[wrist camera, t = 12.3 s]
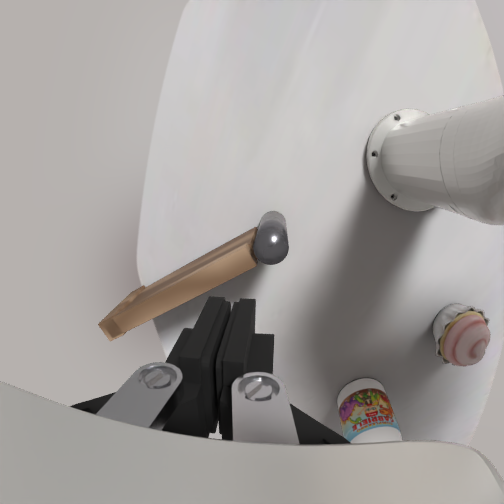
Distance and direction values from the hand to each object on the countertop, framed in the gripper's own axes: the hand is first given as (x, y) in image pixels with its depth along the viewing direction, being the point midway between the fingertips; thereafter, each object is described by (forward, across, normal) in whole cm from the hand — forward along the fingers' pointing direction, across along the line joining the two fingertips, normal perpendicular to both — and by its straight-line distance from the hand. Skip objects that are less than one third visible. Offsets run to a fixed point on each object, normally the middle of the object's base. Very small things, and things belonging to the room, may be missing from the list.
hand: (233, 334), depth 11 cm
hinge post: (+27, -1, +1) cm, 27 cm away
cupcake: (+27, -28, +14) cm, 42 cm away
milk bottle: (+27, -16, +27) cm, 42 cm away
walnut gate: (+26, +9, +7) cm, 28 cm away
